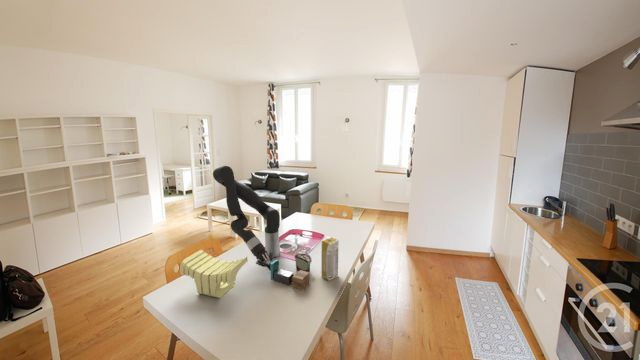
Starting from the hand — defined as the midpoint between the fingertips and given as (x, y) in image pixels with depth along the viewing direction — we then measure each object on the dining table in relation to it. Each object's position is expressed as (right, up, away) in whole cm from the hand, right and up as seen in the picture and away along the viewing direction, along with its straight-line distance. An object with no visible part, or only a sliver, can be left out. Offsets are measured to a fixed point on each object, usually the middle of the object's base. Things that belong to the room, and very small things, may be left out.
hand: (272, 270), depth 158 cm
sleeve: (+7, -5, -2) cm, 9 cm away
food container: (+18, -4, +9) cm, 21 cm away
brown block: (+17, -6, -7) cm, 20 cm away
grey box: (+9, -6, -3) cm, 11 cm away
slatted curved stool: (-29, -7, -11) cm, 31 cm away
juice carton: (+33, -5, +2) cm, 34 cm away
